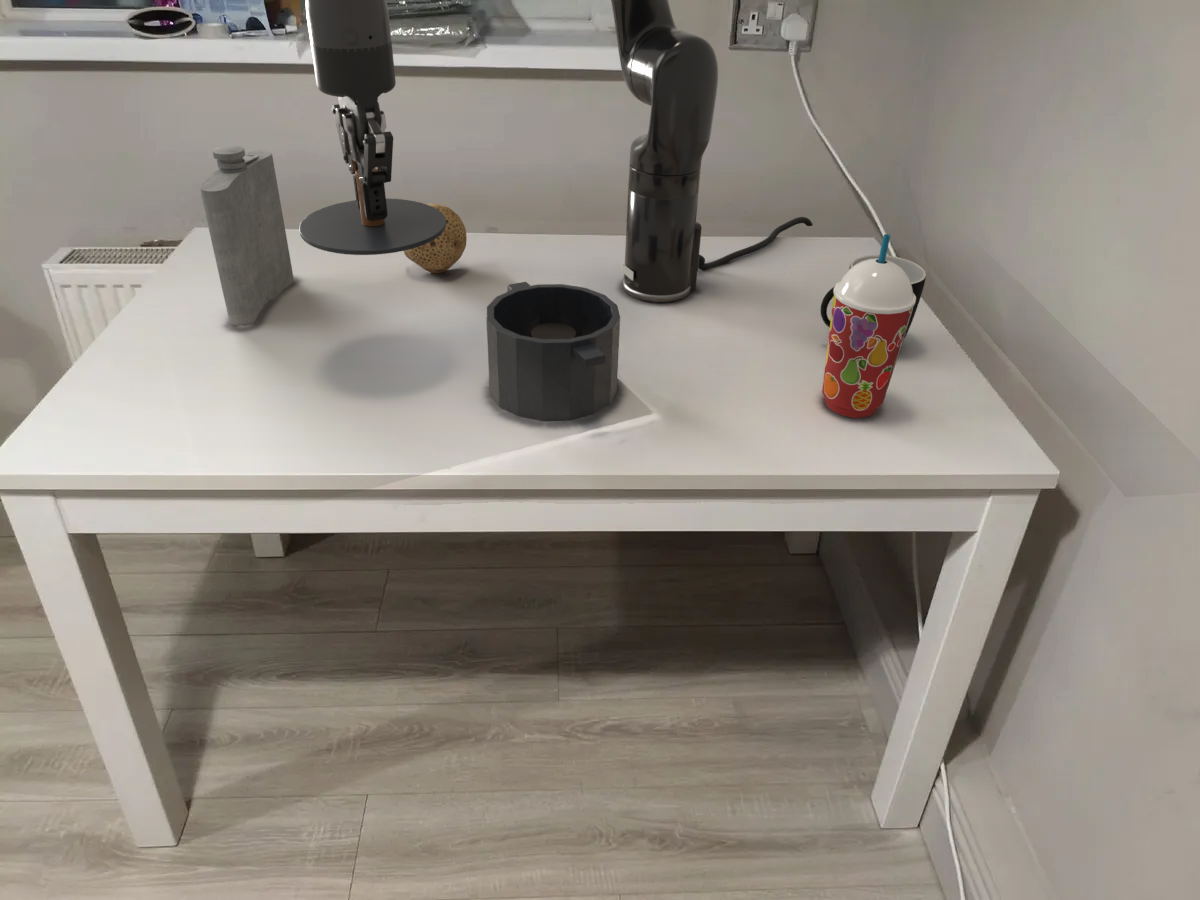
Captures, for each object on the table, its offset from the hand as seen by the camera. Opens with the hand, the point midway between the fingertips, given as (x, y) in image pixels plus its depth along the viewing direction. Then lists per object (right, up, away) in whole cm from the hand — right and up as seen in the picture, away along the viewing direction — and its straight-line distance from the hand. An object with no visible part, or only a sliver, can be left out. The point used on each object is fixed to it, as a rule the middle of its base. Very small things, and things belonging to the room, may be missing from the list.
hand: (372, 213), depth 97 cm
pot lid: (0, -1, +1) cm, 1 cm away
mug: (+57, -12, +19) cm, 61 cm away
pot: (+19, -18, +7) cm, 27 cm away
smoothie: (+52, -20, +7) cm, 56 cm away
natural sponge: (+1, 0, +33) cm, 33 cm away
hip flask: (-21, -6, +24) cm, 32 cm away
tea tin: (+19, -18, +7) cm, 27 cm away
